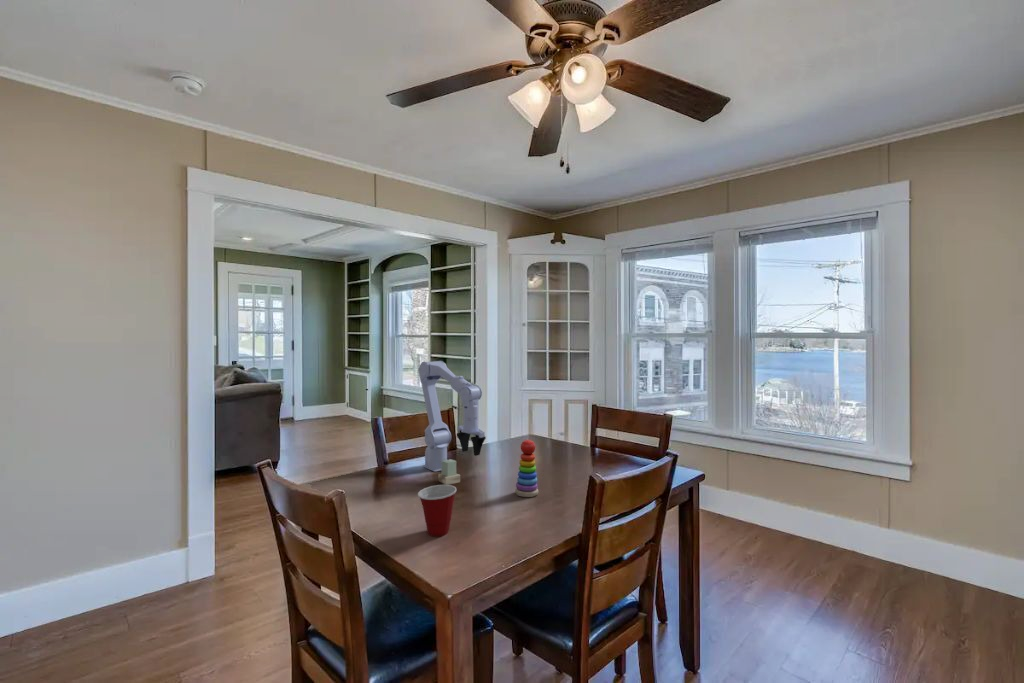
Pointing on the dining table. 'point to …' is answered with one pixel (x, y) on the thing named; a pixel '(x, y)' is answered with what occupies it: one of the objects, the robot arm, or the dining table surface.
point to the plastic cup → (437, 508)
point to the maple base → (448, 479)
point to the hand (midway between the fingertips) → (470, 453)
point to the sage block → (448, 467)
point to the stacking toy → (527, 471)
